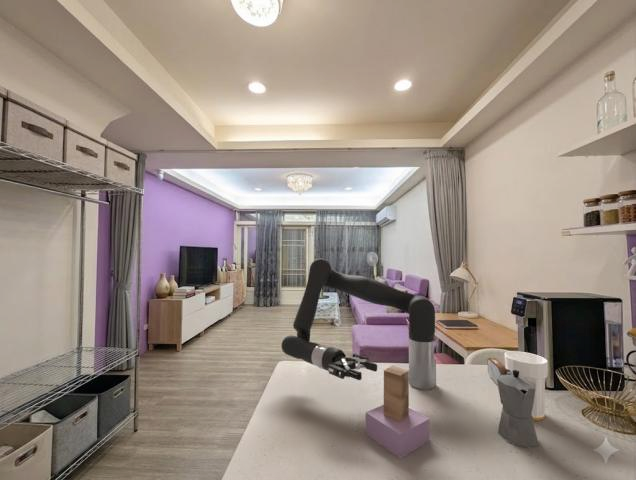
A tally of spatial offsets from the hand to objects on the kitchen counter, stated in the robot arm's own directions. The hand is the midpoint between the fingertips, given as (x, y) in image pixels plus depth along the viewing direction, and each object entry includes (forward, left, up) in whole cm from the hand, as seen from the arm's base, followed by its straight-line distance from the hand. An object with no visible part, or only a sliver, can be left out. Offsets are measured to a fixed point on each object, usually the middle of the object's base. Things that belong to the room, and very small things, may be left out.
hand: (369, 372), depth 87 cm
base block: (-3, +9, -15) cm, 18 cm away
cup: (-48, +18, -15) cm, 53 cm away
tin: (-61, +1, -15) cm, 63 cm away
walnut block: (-3, +9, -9) cm, 13 cm away
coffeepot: (-33, +23, -15) cm, 43 cm away
